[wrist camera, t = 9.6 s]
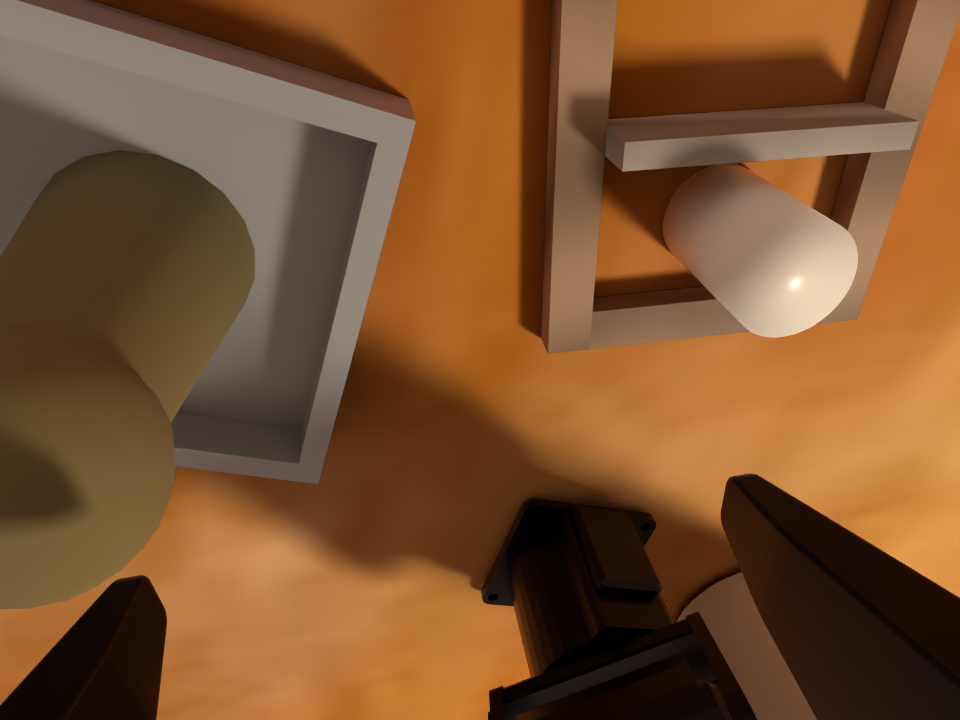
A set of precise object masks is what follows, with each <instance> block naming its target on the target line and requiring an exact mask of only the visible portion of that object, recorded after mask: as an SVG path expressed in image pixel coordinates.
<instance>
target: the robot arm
mask: <svg viewBox="0 0 960 720" xmlns="http://www.w3.org/2000/svg"><path fill="white" fill-rule="evenodd" d="M533 510H535V511H533ZM721 522H722V526H723V528H724V531H725V533H726V536H727V538H728V541H729V543H730V545H731V548H732V550H733V553H734V555H735V557H736V560H737V562H738V565H739V567H740V569H741V572H742V574H743V577H744V579H745V581H746V584H747V586H748V589H749V591H750V593H751V596H752V598H753V601H754V603H755V605H756V607H757V610H758V612H759V614H760V616H761V618H762V620H763V622H764V624H765V626H766V627H767V629H768V631H769V633H770V635H771V637H772V638H773V640H774V642H775V644H776V646H777V648H778V649H779V651H780V653H781V655H782V657H783V659H784V660H785V662H786V664H787V666H788V668H789V670H790V671H791V673H792V675H793V677H794V679H795V680H796V682H797V684H798V686H799V688H800V690H801V691H802V693H803V695H804V697H805V699H806V701H807V702H808V704H809V706H810V708H811V710H812V712H813V713H814V715H815V717H816V719H817V720H960V598H959V597H958V596H956V595H954V594H953V593H951V592H949V591H948V590H946V589H945V588H943V587H941V586H940V585H938V584H936V583H935V582H933V581H931V580H930V579H928V578H926V577H925V576H923V575H921V574H920V573H918V572H917V571H915V570H913V569H912V568H910V567H908V566H907V565H905V564H903V563H902V562H900V561H898V560H897V559H895V558H894V557H892V556H890V555H889V554H887V553H885V552H884V551H882V550H880V549H879V548H877V547H875V546H874V545H872V544H870V543H869V542H867V541H866V540H864V539H862V538H861V537H859V536H857V535H856V534H854V533H852V532H851V531H849V530H847V529H846V528H844V527H842V526H841V525H839V524H838V523H836V522H834V521H833V520H831V519H829V518H828V517H826V516H824V515H823V514H821V513H819V512H818V511H816V510H814V509H813V508H811V507H810V506H808V505H806V504H805V503H803V502H801V501H800V500H798V499H796V498H795V497H793V496H791V495H790V494H788V493H787V492H785V491H783V490H782V489H780V488H778V487H777V486H775V485H773V484H772V483H770V482H768V481H767V480H765V479H763V478H762V477H760V476H758V475H756V474H744V475H738V476H732V477H730V478H729V479H728V481H727V483H726V487H725V493H724V498H723V503H722V508H721ZM655 528H656V522H655V520H654V518H653V516H652V515H651V514H648V513H641V512H634V511H626V510H618V509H611V508H603V507H595V506H588V505H580V504H572V503H564V502H557V501H549V500H541V499H531V500H528V501H526V502H525V503H524V504H523V505H522V507H521V509H520V511H519V513H518V515H517V518H516V520H515V522H514V524H513V526H512V528H511V530H510V532H509V534H508V536H507V538H506V540H505V542H504V544H503V546H502V548H501V551H500V553H499V555H498V557H497V559H496V561H495V563H494V565H493V567H492V569H491V571H490V573H489V575H488V577H487V579H486V582H485V584H484V586H483V588H482V590H481V594H482V599H483V601H484V602H485V603H486V604H493V605H507V606H514V609H515V613H516V617H517V621H518V625H519V629H520V634H521V638H522V642H523V646H524V650H525V655H526V659H527V663H528V667H529V671H530V676H531V678H528V679H526V680H523V681H521V682H518V683H515V684H513V685H510V686H507V687H505V688H504V687H503V686H500V687H498V688H495V689H493V690H490V691H489V700H490V712H488V720H757V718H756V715H755V714H754V712H753V710H752V708H751V706H750V704H749V702H748V700H747V698H746V696H745V694H744V692H743V691H742V689H741V687H740V685H739V683H738V682H737V680H736V678H735V676H734V674H733V673H732V671H731V669H730V667H729V665H728V664H727V662H726V660H725V658H724V656H723V655H722V653H721V651H720V649H719V647H718V646H717V644H716V642H715V640H714V638H713V637H712V635H711V633H710V631H709V629H708V628H707V626H706V624H705V622H704V620H703V619H702V617H701V615H700V613H699V612H698V611H697V612H695V613H692V614H689V615H687V616H685V617H686V619H683V620H681V621H678V622H675V623H673V620H672V618H671V616H670V614H669V612H668V610H667V607H666V605H665V603H664V601H663V599H662V597H661V594H660V591H661V590H662V586H661V584H660V581H659V579H658V577H657V575H656V573H655V571H654V569H653V567H652V564H651V562H650V560H649V558H648V556H647V554H646V552H645V550H644V545H645V544H646V542H647V541H648V539H649V538H650V536H651V534H652V533H653V531H654V530H655ZM166 627H167V616H166V611H165V608H164V606H163V604H162V602H161V600H160V598H159V597H158V595H157V593H156V591H155V589H154V587H153V585H152V583H151V581H150V580H149V579H148V578H147V577H146V576H142V575H140V576H134V577H128V578H122V579H118V580H116V581H114V582H113V583H112V584H111V585H110V586H109V587H108V588H107V589H106V590H105V591H104V592H103V593H102V594H101V596H100V597H99V598H98V599H97V600H96V601H95V602H94V603H93V604H92V605H91V606H90V608H89V609H88V610H87V611H86V612H85V613H84V614H83V615H82V616H81V617H80V618H79V620H78V621H77V622H76V623H75V624H74V625H73V626H72V627H71V628H70V629H69V631H68V632H67V633H66V634H65V635H64V636H63V637H62V638H61V639H60V640H59V641H58V643H57V644H56V645H55V646H54V647H53V648H52V649H51V650H50V651H49V652H48V653H47V655H46V656H45V657H44V658H43V659H42V660H41V661H40V662H39V663H38V664H37V666H36V667H35V668H34V669H33V670H32V671H31V672H30V673H29V674H28V675H27V676H26V678H25V679H24V680H23V681H22V682H21V683H20V684H19V685H18V686H17V687H16V688H15V690H14V691H13V692H12V693H11V694H10V695H9V696H8V697H7V698H6V699H5V701H4V702H3V703H2V704H1V705H0V720H156V717H157V709H158V700H159V691H160V682H161V673H162V664H163V655H164V646H165V637H166Z"/></svg>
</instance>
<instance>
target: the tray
mask: <svg viewBox="0 0 960 720" xmlns="http://www.w3.org/2000/svg"><path fill="white" fill-rule="evenodd" d="M415 123H416V120H415V117H414V114H413V110H412V107H411V104H410V101H409V100H408V99H405V98H402V97H399V96H396V95H392V94H389V93H386V92H383V91H380V90H376V89H373V88H370V87H367V86H363V85H360V84H357V83H354V82H351V81H347V80H344V79H341V78H338V77H335V76H331V75H328V74H325V73H322V72H319V71H315V70H312V69H309V68H306V67H303V66H299V65H296V64H293V63H290V62H287V61H283V60H280V59H277V58H274V57H271V56H267V55H264V54H261V53H258V52H255V51H251V50H248V49H245V48H242V47H239V46H235V45H232V44H229V43H226V42H223V41H219V40H216V39H213V38H210V37H206V36H203V35H200V34H197V33H194V32H190V31H187V30H184V29H181V28H178V27H174V26H171V25H168V24H165V23H162V22H158V21H155V20H152V19H149V18H146V17H142V16H139V15H136V14H133V13H130V12H126V11H123V10H120V9H117V8H114V7H110V6H107V5H104V4H101V3H98V2H94V1H91V0H0V256H1V255H2V253H3V251H4V250H5V248H6V247H7V245H8V243H9V242H10V240H11V239H12V237H13V235H14V234H15V232H16V230H17V229H18V227H19V226H20V224H21V222H22V221H23V219H24V218H25V216H26V214H27V213H28V211H29V210H30V208H31V206H32V205H33V203H34V202H35V200H36V198H37V197H38V196H39V194H40V193H41V192H42V190H43V189H44V188H45V186H46V185H47V183H48V182H49V181H50V179H51V178H52V177H53V175H54V174H55V173H56V172H58V171H60V170H61V169H63V168H65V167H67V166H68V165H70V164H72V163H73V162H75V161H77V160H79V159H80V158H82V157H84V156H89V155H95V154H101V153H106V152H112V151H118V150H123V151H131V152H139V153H147V154H155V155H159V156H162V157H164V158H166V159H169V160H171V161H174V162H176V163H179V164H181V165H183V166H186V167H188V168H191V169H193V170H195V171H196V172H197V173H199V174H200V175H201V176H203V177H204V178H205V179H206V180H208V181H209V182H210V183H212V184H213V185H214V186H216V187H217V188H218V189H220V190H221V191H222V192H223V193H224V194H225V195H226V196H227V198H228V199H229V200H230V202H231V203H232V204H233V206H234V207H235V208H236V210H237V211H238V212H239V214H240V215H241V216H242V218H243V219H244V220H245V223H246V226H247V229H248V232H249V234H250V237H251V240H252V243H253V246H254V248H255V280H254V282H253V285H252V287H251V290H250V292H249V295H248V297H247V300H246V302H245V304H244V306H243V308H242V309H241V311H240V312H239V314H238V316H237V317H236V319H235V320H234V322H233V324H232V325H231V327H230V329H229V330H228V332H227V333H226V335H225V337H224V338H223V340H222V341H221V343H220V345H219V346H218V348H217V349H216V351H215V353H214V354H213V356H212V358H211V359H210V361H209V362H208V364H207V366H206V367H205V369H204V370H203V372H202V374H201V375H200V377H199V378H198V380H197V382H196V383H195V385H194V387H193V388H192V390H191V391H190V393H189V395H188V396H187V398H186V399H185V401H184V403H183V404H182V406H181V407H180V409H179V411H178V412H177V414H176V416H175V417H174V419H173V420H172V422H171V424H172V430H173V442H174V454H175V467H182V468H191V469H199V470H207V471H215V472H223V473H231V474H239V475H247V476H255V477H263V478H271V479H280V480H288V481H296V482H304V483H312V484H318V483H319V479H320V475H321V472H322V468H323V464H324V461H325V457H326V453H327V449H328V446H329V442H330V438H331V435H332V431H333V427H334V424H335V420H336V416H337V412H338V409H339V405H340V401H341V398H342V394H343V390H344V386H345V383H346V379H347V375H348V372H349V368H350V364H351V360H352V357H353V353H354V349H355V346H356V342H357V338H358V334H359V331H360V327H361V323H362V320H363V316H364V312H365V309H366V305H367V301H368V297H369V294H370V290H371V286H372V283H373V279H374V275H375V271H376V268H377V264H378V260H379V257H380V253H381V249H382V245H383V242H384V238H385V234H386V231H387V227H388V223H389V219H390V216H391V212H392V208H393V205H394V201H395V197H396V194H397V190H398V186H399V182H400V179H401V175H402V171H403V168H404V164H405V160H406V156H407V153H408V149H409V145H410V142H411V138H412V134H413V130H414V127H415Z"/></svg>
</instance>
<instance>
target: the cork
mask: <svg viewBox="0 0 960 720" xmlns="http://www.w3.org/2000/svg"><path fill="white" fill-rule="evenodd" d="M254 280H255V248H254V246H253V243H252V240H251V237H250V234H249V232H248V229H247V226H246V223H245V220H244V219H243V218H242V216H241V215H240V214H239V212H238V211H237V210H236V208H235V207H234V206H233V204H232V203H231V202H230V200H229V199H228V198H227V196H226V195H225V194H224V193H223V192H222V191H221V190H220V189H218V188H217V187H216V186H214V185H213V184H212V183H210V182H209V181H208V180H206V179H205V178H204V177H203V176H201V175H200V174H199V173H197V172H196V171H195V170H193V169H191V168H188V167H186V166H183V165H181V164H179V163H176V162H174V161H171V160H169V159H166V158H164V157H162V156H159V155H155V154H147V153H139V152H131V151H123V150H118V151H112V152H106V153H101V154H95V155H89V156H84V157H82V158H80V159H79V160H77V161H75V162H73V163H72V164H70V165H68V166H67V167H65V168H63V169H61V170H60V171H58V172H56V173H55V174H54V175H53V177H52V178H51V179H50V181H49V182H48V183H47V185H46V186H45V188H44V189H43V190H42V192H41V193H40V194H39V196H38V197H37V198H36V200H35V202H34V203H33V205H32V206H31V208H30V210H29V211H28V213H27V214H26V216H25V218H24V219H23V221H22V222H21V224H20V226H19V227H18V229H17V230H16V232H15V234H14V235H13V237H12V239H11V240H10V242H9V243H8V245H7V247H6V248H5V250H4V251H3V253H2V255H1V256H0V609H28V608H34V607H38V606H43V605H47V604H52V603H57V602H61V601H66V600H69V599H71V598H73V597H75V596H77V595H79V594H81V593H83V592H85V591H87V590H90V589H92V588H94V587H96V586H98V585H100V584H101V583H103V582H104V581H106V580H107V579H109V578H110V577H112V576H113V575H115V574H116V573H118V572H119V571H120V570H121V569H122V568H123V567H124V566H125V565H127V564H128V563H129V562H130V561H131V560H132V559H133V558H134V557H135V556H136V555H137V554H138V553H139V552H140V551H141V550H142V549H143V548H144V546H145V545H146V544H147V542H148V541H149V540H150V538H151V537H152V535H153V534H154V533H155V531H156V530H157V528H158V526H159V524H160V521H161V519H162V516H163V514H164V511H165V509H166V506H167V504H168V501H169V498H170V495H171V492H172V488H173V485H174V481H175V478H176V469H175V454H174V442H173V430H172V424H171V422H172V420H173V419H174V417H175V416H176V414H177V412H178V411H179V409H180V407H181V406H182V404H183V403H184V401H185V399H186V398H187V396H188V395H189V393H190V391H191V390H192V388H193V387H194V385H195V383H196V382H197V380H198V378H199V377H200V375H201V374H202V372H203V370H204V369H205V367H206V366H207V364H208V362H209V361H210V359H211V358H212V356H213V354H214V353H215V351H216V349H217V348H218V346H219V345H220V343H221V341H222V340H223V338H224V337H225V335H226V333H227V332H228V330H229V329H230V327H231V325H232V324H233V322H234V320H235V319H236V317H237V316H238V314H239V312H240V311H241V309H242V308H243V306H244V304H245V302H246V300H247V297H248V295H249V292H250V290H251V287H252V285H253V282H254Z"/></svg>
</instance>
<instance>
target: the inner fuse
mask: <svg viewBox="0 0 960 720" xmlns="http://www.w3.org/2000/svg"><path fill="white" fill-rule="evenodd" d="M663 236H664V240H665V243H666V245H667V247H668V249H669V250H670V251H671V253H672V254H673V255H674V256H675V257H676V258H677V259H678V260H679V261H680V262H681V263H682V264H683V265H684V266H685V267H686V268H687V269H688V270H689V271H690V272H691V273H692V274H693V275H694V276H695V277H696V278H697V279H698V280H699V281H700V282H701V283H702V284H703V286H704V287H705V288H706V289H707V290H708V291H709V292H710V293H711V294H712V295H713V296H714V297H715V298H716V299H717V300H718V301H719V302H720V303H721V304H722V305H723V306H724V307H725V308H726V309H727V310H728V311H729V312H730V313H731V314H732V315H733V316H734V317H735V318H736V319H737V320H738V321H739V322H740V323H741V324H742V325H743V326H744V327H745V328H746V329H747V330H749V331H750V332H752V333H754V334H757V335H759V336H764V337H784V336H789V335H793V334H796V333H799V332H801V331H804V330H806V329H808V328H810V327H812V326H813V325H815V324H817V323H818V322H820V321H821V320H822V319H824V318H825V317H826V316H827V315H829V314H830V313H831V312H832V311H833V310H834V309H835V308H836V307H837V306H838V305H839V303H840V302H841V301H842V299H843V298H844V297H845V295H846V294H847V292H848V290H849V289H850V287H851V285H852V282H853V280H854V277H855V274H856V270H857V265H858V251H857V246H856V244H855V241H854V239H853V237H852V236H851V234H850V233H849V232H848V231H847V230H846V229H845V228H843V227H842V226H841V225H839V224H837V223H836V222H834V221H832V220H831V219H829V218H828V217H826V216H824V215H823V214H821V213H819V212H818V211H816V210H814V209H813V208H811V207H809V206H808V205H806V204H805V203H803V202H801V201H800V200H798V199H796V198H795V197H793V196H791V195H790V194H788V193H787V192H785V191H783V190H782V189H780V188H778V187H777V186H775V185H773V184H772V183H770V182H768V181H767V180H765V179H764V178H762V177H760V176H759V175H757V174H755V173H754V172H752V171H750V170H749V169H747V168H745V167H743V166H740V165H737V164H731V163H727V164H716V165H713V166H709V167H707V168H704V169H702V170H700V171H698V172H696V173H695V174H693V175H692V176H691V177H689V178H688V179H687V180H686V181H685V182H683V184H682V185H681V186H680V187H679V188H678V189H677V190H676V192H675V193H674V194H673V196H672V198H671V199H670V201H669V203H668V206H667V208H666V211H665V214H664V219H663Z"/></svg>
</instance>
